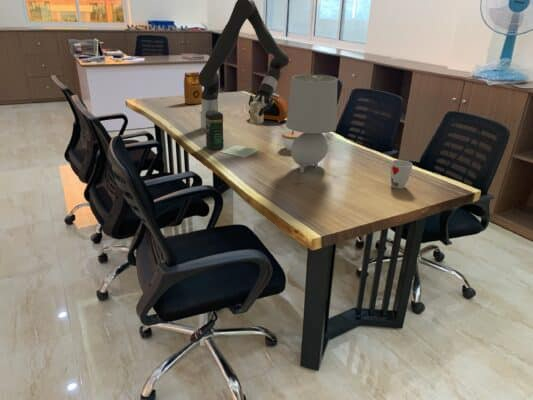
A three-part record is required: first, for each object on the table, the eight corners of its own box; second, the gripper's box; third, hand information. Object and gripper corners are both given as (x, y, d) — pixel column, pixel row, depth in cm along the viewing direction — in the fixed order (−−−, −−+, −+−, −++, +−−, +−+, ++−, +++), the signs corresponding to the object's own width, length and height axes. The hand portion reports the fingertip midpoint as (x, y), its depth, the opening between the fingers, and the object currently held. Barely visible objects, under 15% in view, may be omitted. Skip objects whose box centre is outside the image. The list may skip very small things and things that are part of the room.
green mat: (220, 152, 204) (220, 151, 204) (236, 145, 215) (236, 144, 215) (243, 157, 198) (243, 157, 198) (259, 150, 209) (259, 149, 209)
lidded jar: (285, 152, 207) (286, 134, 203) (278, 146, 216) (279, 128, 212) (305, 151, 209) (306, 133, 206) (298, 145, 219) (299, 127, 215)
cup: (385, 182, 175) (388, 159, 171) (403, 182, 176) (407, 159, 171) (392, 190, 168) (396, 166, 163) (411, 189, 168) (415, 166, 164)
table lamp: (318, 181, 174) (326, 83, 157) (273, 170, 184) (277, 77, 167) (339, 166, 191) (349, 76, 175) (298, 156, 202) (303, 71, 185)
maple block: (249, 122, 213) (250, 102, 208) (255, 120, 217) (255, 101, 212) (258, 123, 210) (258, 104, 206) (263, 121, 214) (263, 102, 210)
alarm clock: (249, 119, 266) (250, 92, 259) (255, 116, 274) (255, 90, 267) (284, 123, 259) (285, 96, 252) (289, 120, 266) (290, 93, 259)
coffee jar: (225, 149, 209) (225, 112, 201) (210, 151, 206) (209, 113, 198) (219, 143, 217) (218, 108, 209) (204, 145, 214) (203, 109, 206)
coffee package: (204, 104, 302) (203, 72, 293) (188, 105, 296) (186, 73, 287) (199, 101, 310) (198, 70, 300) (183, 102, 304) (181, 71, 295)
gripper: (253, 81, 215) (240, 108, 210) (277, 84, 208) (264, 112, 204) (258, 90, 221) (245, 116, 217) (282, 93, 215) (269, 121, 210)
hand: (254, 114), depth 210 cm, fingers closed on maple block, 5 cm apart
